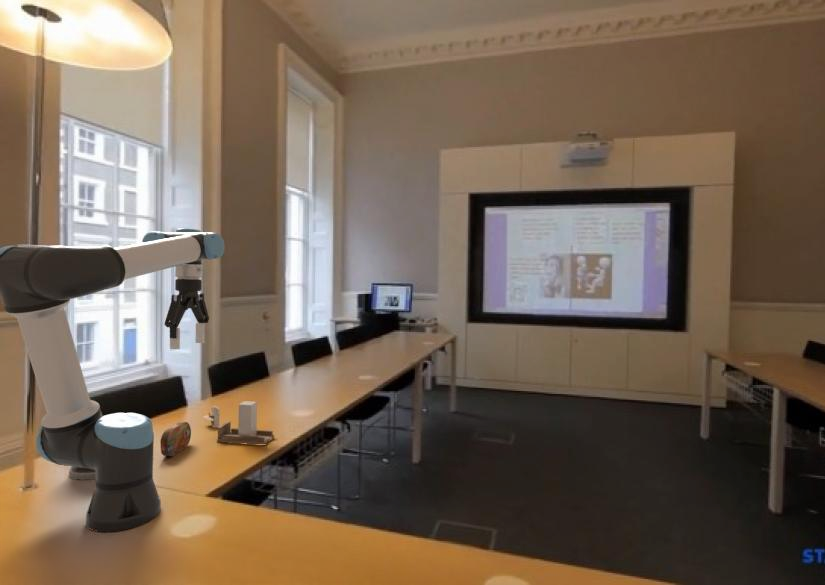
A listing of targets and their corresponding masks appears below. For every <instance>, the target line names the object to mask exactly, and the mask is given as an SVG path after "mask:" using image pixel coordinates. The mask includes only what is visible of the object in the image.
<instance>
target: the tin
mask: <svg viewBox="0 0 825 585" xmlns="http://www.w3.org/2000/svg"><path fill="white" fill-rule="evenodd" d="M191 435H192V429H191V425H190V424H189V423H188V422H187V421H184V422H177V423H175V424H173V425H172V426H171V427H170V428H168V429H166V430H164V431H163V433H162V435H161V437H160V441H159V442H160V452H161V455H162V456H164V457H175V456H176V455H178V454H179V453H181V450H184V449H185V447H186V448H187V447H188V446H189V443H190V441H191V437H192V436H191ZM177 453H178V454H177Z"/></svg>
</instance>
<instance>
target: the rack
mask: <svg viewBox="0 0 825 585" xmlns="http://www.w3.org/2000/svg"><path fill="white" fill-rule="evenodd" d="M231 423H232V422H231V421H230V420H229V421H228V420H227V421H225V423H223V424H221V425H219V427H218V428H217V439H216V443H219V442H231V443H230V444H233V443H247V444H266V443H267V442H268V441H269V440H270V439H271V438H273V437H274V438H275V435H274V434H273V432H274V431H273V430H263V429H257V436H255V437H253V436H239V435H238V427H237V428H235V427H232V428H231V426H232V425H231ZM274 438H273V439H274ZM268 443H269V442H268ZM268 443H267V444H268ZM247 444H246V445H247ZM267 444H266V445H267Z"/></svg>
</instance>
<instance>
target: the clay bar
mask: <svg viewBox="0 0 825 585" xmlns="http://www.w3.org/2000/svg"><path fill="white" fill-rule="evenodd" d="M257 417H258V401H253V400H252V401H247V400H245V401H242V402H240V403H239V404H238V425H237V426H238V427H237V428H238V435H239V436H253V437H255V436H257V430H258V427H257V426H258V425H257V424H258V422H257V421H258V418H257Z"/></svg>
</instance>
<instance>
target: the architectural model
mask: <svg viewBox="0 0 825 585" xmlns="http://www.w3.org/2000/svg"><path fill="white" fill-rule="evenodd" d="M210 410H211V413H210V411H209V412H208V414H207V415H203V416H202V417H203V418H204V419H205V420H206V421H209V422H210V424H211V427H212V426H214V427H218V426H220V408H219V407H217V406H215V405H213V406H212V407H210ZM214 427H213V428H214Z"/></svg>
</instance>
